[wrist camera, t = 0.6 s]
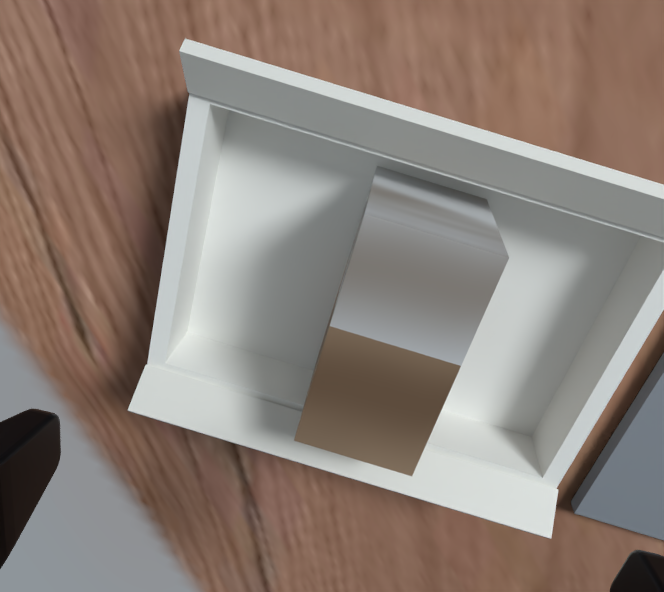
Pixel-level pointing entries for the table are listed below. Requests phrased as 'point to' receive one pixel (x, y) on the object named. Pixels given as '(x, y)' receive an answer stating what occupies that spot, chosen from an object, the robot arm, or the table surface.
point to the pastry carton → (330, 261)
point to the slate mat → (631, 467)
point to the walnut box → (401, 320)
